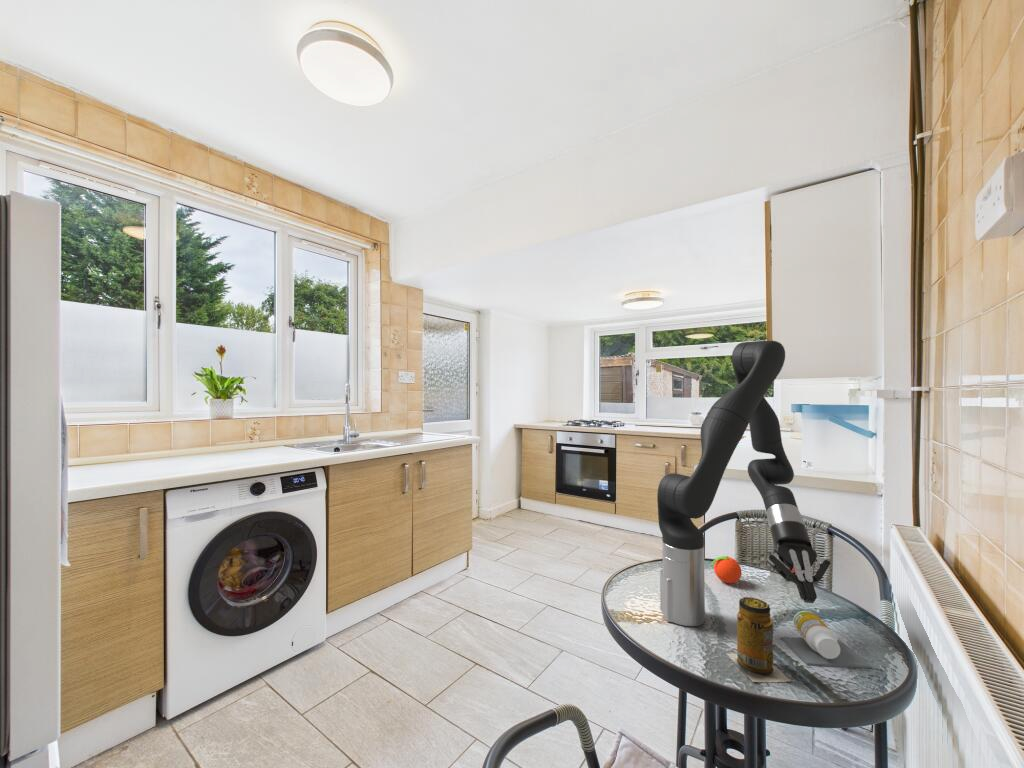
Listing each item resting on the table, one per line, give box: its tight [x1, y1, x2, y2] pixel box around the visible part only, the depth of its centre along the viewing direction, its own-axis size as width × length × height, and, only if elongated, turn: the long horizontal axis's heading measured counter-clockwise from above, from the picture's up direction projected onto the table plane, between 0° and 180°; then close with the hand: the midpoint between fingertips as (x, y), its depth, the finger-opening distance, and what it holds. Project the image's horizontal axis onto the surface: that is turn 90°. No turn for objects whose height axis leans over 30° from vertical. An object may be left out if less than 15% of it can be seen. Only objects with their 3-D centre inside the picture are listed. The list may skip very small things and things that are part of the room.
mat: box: [780, 636, 873, 669], centre depth 85 cm, size 12×9×1 cm
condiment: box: [726, 596, 791, 684], centre depth 81 cm, size 7×8×12 cm
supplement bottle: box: [792, 610, 840, 659], centre depth 86 cm, size 5×5×10 cm
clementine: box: [710, 556, 742, 584], centre depth 118 cm, size 8×7×7 cm
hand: (810, 601), depth 91 cm, fingers closed
